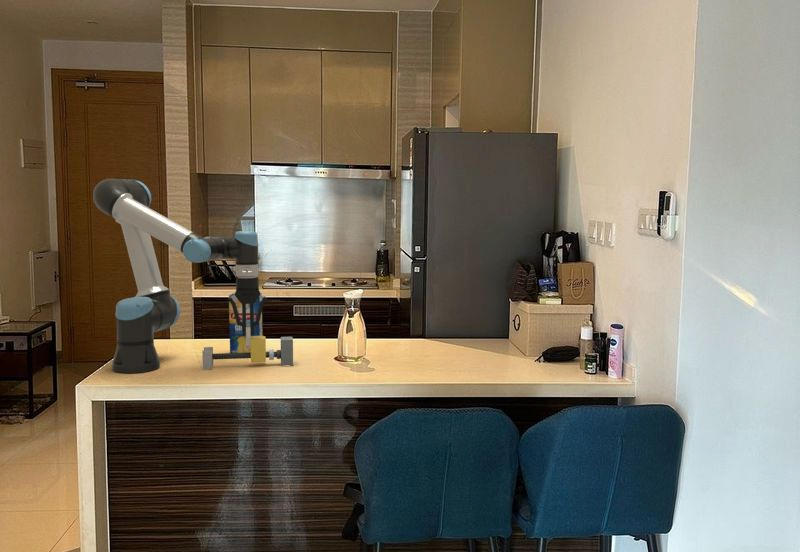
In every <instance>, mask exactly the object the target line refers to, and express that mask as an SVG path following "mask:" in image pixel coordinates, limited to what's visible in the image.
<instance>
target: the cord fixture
mask: <svg viewBox="0 0 800 552" xmlns="http://www.w3.org/2000/svg"><path fill="white" fill-rule="evenodd" d="M201 353H202V358H201V359H202V360H201V361H202V370H204V371H206V370H207V371H208V370H213V367H214V361H215V360H216V361H217V360H236V359H239V360H240V359H251V352H248V353H230V352H228V353H227V352H226V353H225V352H223V353H220V352H219V353H214V346H205V347H204V346H203V350H202V351H201ZM275 358H276V359H277V360H280V365H281V367H284V366H283V365H293V366H294V339H293V336H281V337H280V349H276V351H274V349H273V348H272V349H268V351H266V359H269V361H274V360H275Z"/></svg>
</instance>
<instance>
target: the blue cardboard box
mask: <svg viewBox="0 0 800 552" xmlns="http://www.w3.org/2000/svg"><path fill="white" fill-rule="evenodd" d="M260 294H261V295H263V293H262V292H260ZM234 295H235V292H234V293H231V294H229V295H228V298H229V297H232V296H234ZM259 299H260V298H259V297H258V299H257V300H256V302H255V303H254V304H253V305H254V322H255V321H256V318H257V314H258V309H259V305H260V301H259ZM235 303H236V307H237V310H238V314H239V318H240V321H241V322H242V304H241V303H240V301H239V300H238V299H237V298H236V302H235ZM228 309H229V310H228V315H229V317H228V318H229V320H228V322H229V353H248V352H251V346H246V336H243V328H242V326H239V325H237V322H236V318H235V315H234V311H233V307H232V304H231V303H230V302H229V301H228ZM246 326H250V304H246ZM254 336H263V312H262V313H261V318H260V322H259V324H258V325H256V326H254Z"/></svg>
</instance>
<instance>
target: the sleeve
mask: <svg viewBox="0 0 800 552" xmlns="http://www.w3.org/2000/svg"><path fill="white" fill-rule="evenodd" d="M266 343H267V342H266V335H265V336H264V335H262V336H251V358H250V363H251V364H260V363H261V364H263V363H266V362H267V358H266V352H267V351H266V350H267V349H266V347H267V346H266V345H267V344H266Z"/></svg>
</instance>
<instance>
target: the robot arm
mask: <svg viewBox="0 0 800 552" xmlns="http://www.w3.org/2000/svg"><path fill="white" fill-rule="evenodd" d="M92 198H93V203H94V204H95V206H96V208H97V209H98V210H99V211H101V212H102V213H104V214H106V215H107V216H110V217H111V218H113V219H114V221H115V222H116V223H117V224H119V225H120V226H121V230H122V234H123V238H124V242H125V245H126V246H125V247H126V250H127V254H128V257H129V261H130V265H131V268H132V272H133V276H134V280H135V283H136V284H135V285H136V287H137V293H136V295H135V296H133V297H128V298H124V299H123V298H122V299H121V300H119V301H118V302H117V304H116V305H115V313H114V316H115V325H116V330H115V331H116V349H115V353H114V356H113V360H112V362H111V363H112V364H111V369H112V371H113V372H115V373H122V374H136V373H137V374H139V373H145V372H151V371H155V370H158V369H159V368H160V367H161V360H160V357H159V354H158V352H157V349H156V347H155V343H154V342H155V340H154V339H155V337H154V336H155V335H154V333H156V332H159V331H164V330H167V329H169V328H170V327H172V326H174V325H175V324H176V323H177V321H178V320H179V318H180V315H181V306H180V304H179V302H178V300H177V298H174V296H172V295H171V292H170V289H169V288H168V287H167V286H165V285H164V283H163V278H162V276H161V270H160V268H159V263H158V259H157V256H156V252H155V248H154V245H153V240H152V237H153V238H155V239H156V240H159V241H160V242H162V243H164V244H165V245H168V246H169V247H171V248H173V249H175V250H176V251H178V252H180V253H182V254H183V256H184V258H185V259H186V260H187V261H188V262H190V263H195V264H196V263H198V264H199V263H200V264H201V263H204V262H208V261H216V260H235V276H236V279H235V292H234V293H235V295H234V296H232V297H229V296H228V303H229V302H230V303H231V304H232V307H233V311H234V315H235V318H236V322H237V325H239V326H242V328H243V336H246V346H251V336H254V326H256V325H258V324H259V322H260V318H261V313H262V314H263V308H264V304H265V303H266V301H267V296H264V295H263V294H262V295H261V294H260V293H261V291H260V288H259V287H260V286H259V285H260V284H259V278H260V277H258V276H259V275H260V274H259V239H258V232H256V231H252V230H250V231H249V230H248V231H247V230H244V231H241V230H240V231H236V232H234V236H231V237H230V236H214V235H213V236H205V237H202V236H201V235H198V234H197V233H195V232H194V231H191V230H189V229H188V228H186V227H184V226H182V225H181V224H179V223H177V222H176V221H174V220H172V219H170V218H168V217H166V216H164V215H163V214H160V213H159V212H157V211H155V210H153V209H152V208H150V206H151V205H150V204H151V202H152V193H151V191H150V189H149V188H148V187H147V185H145V183H143V182H142V181H140V180H136V179H131V178H127V179H125V178H123V179H121V178H106V179H103V180H101V181H100V182H98V183H97V184H96V185H95V187H94V188H93V192H92ZM151 236H152V237H151ZM258 297H259V298H260V299H259V301H260V305H259V309H258V314H257V318H256V321H255V322H254V305H253V304H254V303H255V302H256V300H257V299H258ZM236 298H237V299H238V300H239V301H240V303H241V304H242V322H241V321H240V318H239V314H238V310H237V307H236V303H235V302H236ZM246 304H250V326H246Z"/></svg>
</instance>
